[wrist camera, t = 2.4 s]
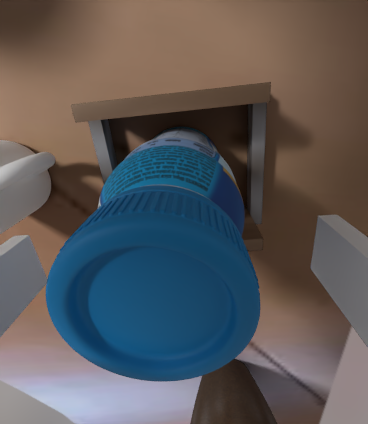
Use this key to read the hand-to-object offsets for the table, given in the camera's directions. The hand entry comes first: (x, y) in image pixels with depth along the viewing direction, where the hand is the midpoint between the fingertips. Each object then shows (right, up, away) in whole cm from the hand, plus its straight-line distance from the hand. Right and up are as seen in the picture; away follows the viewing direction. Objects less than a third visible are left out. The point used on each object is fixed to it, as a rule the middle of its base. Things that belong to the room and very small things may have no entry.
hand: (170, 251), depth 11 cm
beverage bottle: (0, +7, +15) cm, 16 cm away
